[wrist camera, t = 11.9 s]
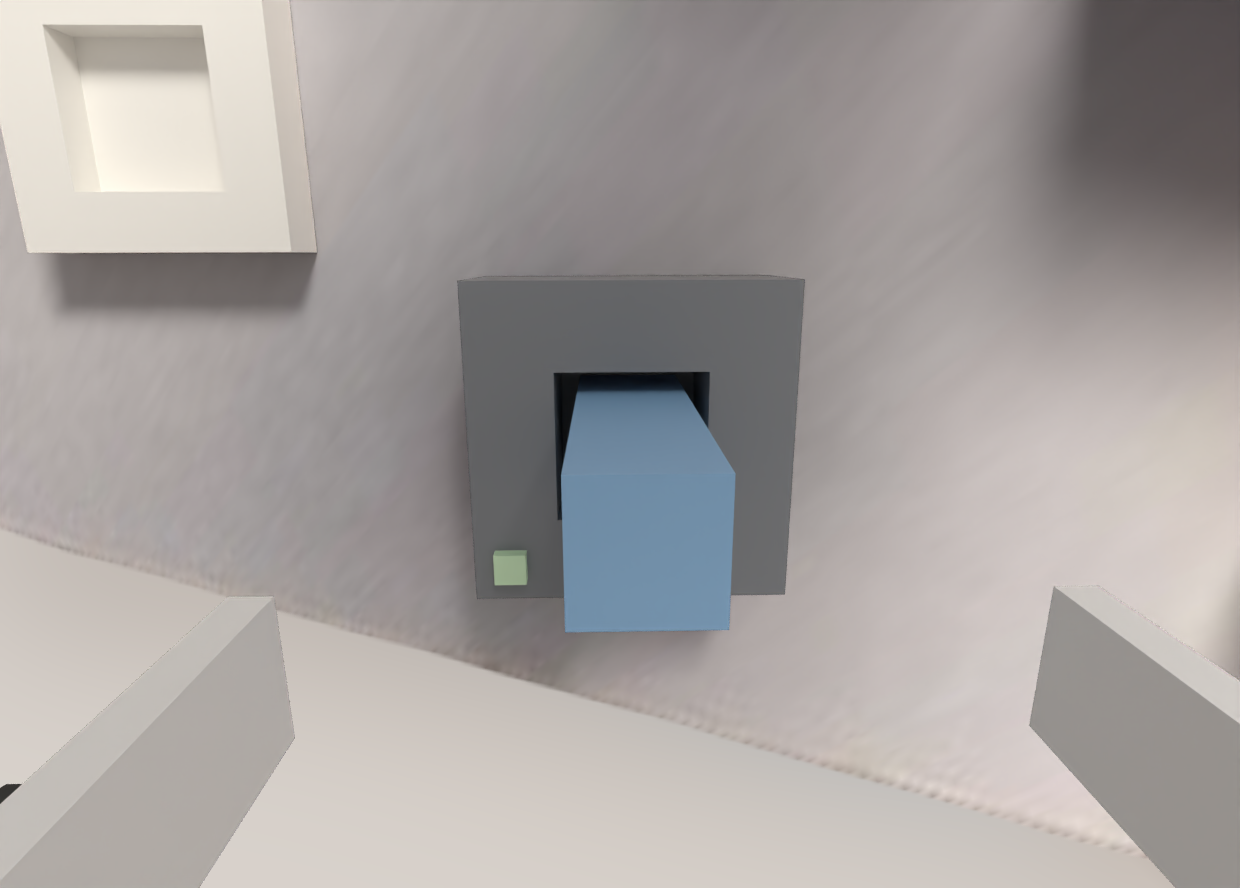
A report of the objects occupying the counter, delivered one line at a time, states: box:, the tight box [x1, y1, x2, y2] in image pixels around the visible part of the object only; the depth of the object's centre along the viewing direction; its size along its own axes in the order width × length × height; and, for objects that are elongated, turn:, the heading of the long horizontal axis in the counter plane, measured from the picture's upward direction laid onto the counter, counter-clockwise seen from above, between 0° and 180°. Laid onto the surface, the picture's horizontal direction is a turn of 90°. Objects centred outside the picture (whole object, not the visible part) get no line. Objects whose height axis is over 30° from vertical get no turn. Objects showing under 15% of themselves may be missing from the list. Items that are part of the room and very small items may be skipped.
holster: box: [0, 0, 317, 253], centre depth 27 cm, size 10×10×2 cm
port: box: [457, 275, 805, 599], centre depth 28 cm, size 12×12×6 cm
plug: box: [561, 375, 736, 632], centre depth 23 cm, size 4×4×14 cm
